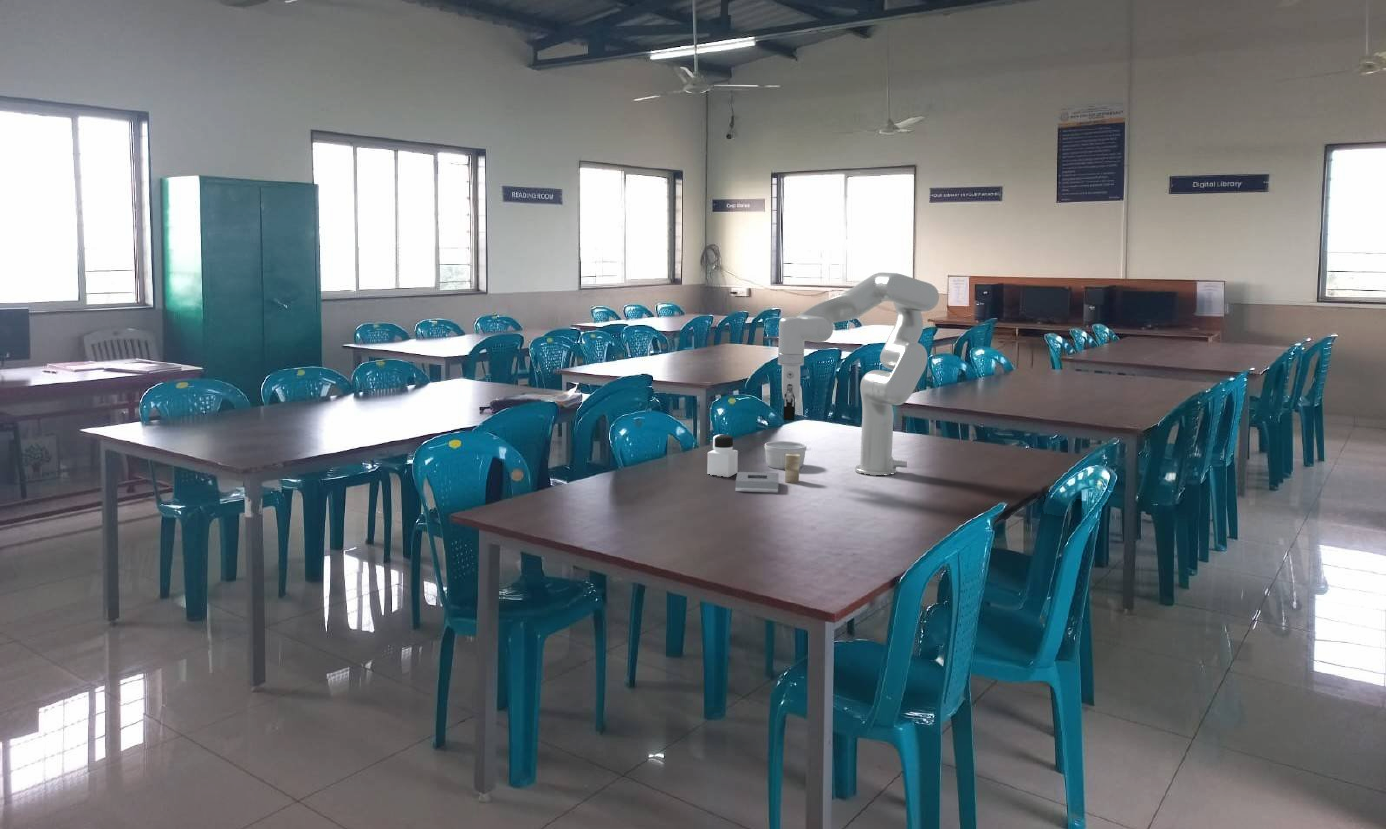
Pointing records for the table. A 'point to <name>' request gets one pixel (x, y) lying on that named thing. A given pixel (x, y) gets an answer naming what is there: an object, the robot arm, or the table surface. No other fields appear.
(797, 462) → the beige upright block
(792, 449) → the ramekin
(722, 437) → the medicine bottle
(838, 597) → the table surface
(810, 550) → the table surface
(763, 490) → the plate
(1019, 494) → the table surface
